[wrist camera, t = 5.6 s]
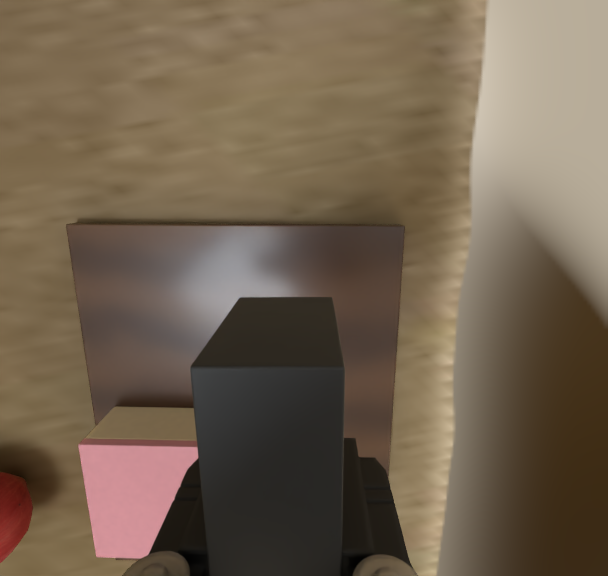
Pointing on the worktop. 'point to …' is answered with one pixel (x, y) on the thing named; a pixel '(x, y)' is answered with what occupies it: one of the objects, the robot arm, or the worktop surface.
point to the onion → (13, 512)
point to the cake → (135, 474)
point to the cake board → (222, 297)
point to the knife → (272, 438)
